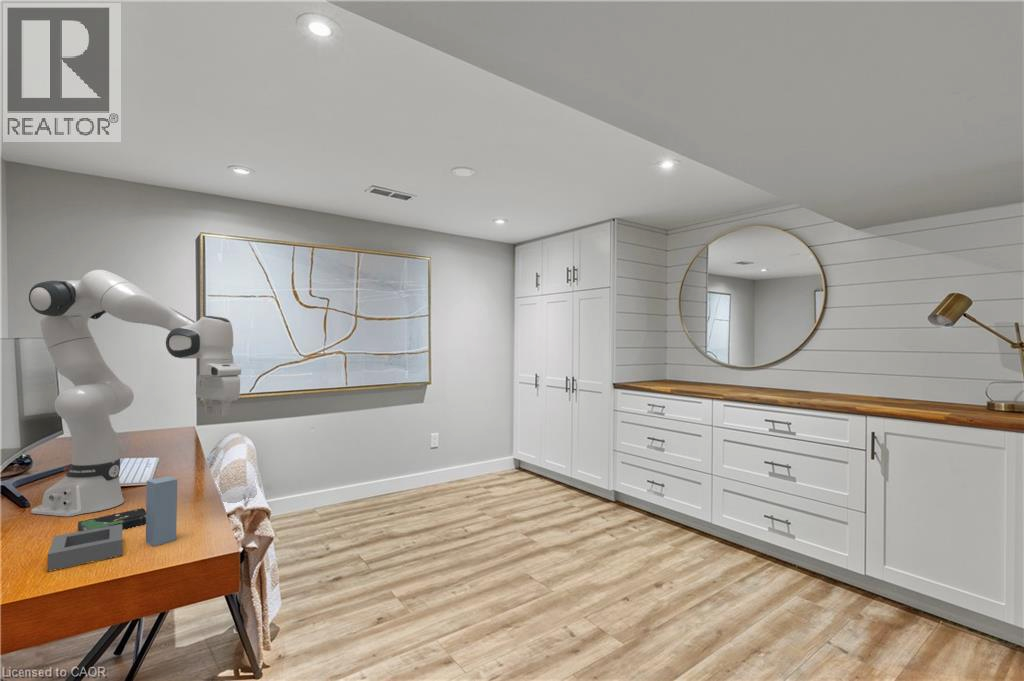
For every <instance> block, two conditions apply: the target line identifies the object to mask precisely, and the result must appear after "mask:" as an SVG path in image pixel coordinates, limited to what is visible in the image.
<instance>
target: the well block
mask: <svg viewBox="0 0 1024 681" xmlns="http://www.w3.org/2000/svg"><path fill="white" fill-rule="evenodd" d="M123 539H124V538H123V530H122V524H119V525H113V526H107V527H102V528H96V529H91V530H85V531H80V532H79V531H75V532H69V533H64V534H58V535H54V536H53V538H52V541H51V544H50V547H49V550H48V552H47V571H50V570H54V569H60V568H64V569H67V568H66V567H69V568H72V567H71V566H74V567H76V566H75V565H78V564H83V563H86V562H91V561H97V560H101V561H103V560H102V559H106V560H108V559H107V558H111V557H115V556H120V555H122V556H123ZM120 557H121V556H120ZM115 558H116V557H115ZM111 559H112V558H111ZM97 562H98V561H97ZM83 565H84V564H83ZM78 566H79V565H78ZM60 570H61V569H60ZM47 571H46V572H47ZM50 572H51V571H50Z"/></svg>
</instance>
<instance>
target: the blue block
mask: <svg viewBox="0 0 1024 681" xmlns="http://www.w3.org/2000/svg"><path fill="white" fill-rule="evenodd" d="M145 495H146V496H145V497H146V501H145V502H146V503H145V508H146V509H145V512H146V525H145V543H146V542H147V543H146V544H148V543H149V544H148V545H149V546H152V547H153V546H155V547H158V546H161V545H164V543H165V544H168V543H171V542H174V540H175V541H177V522H178V521H177V520H178V519H177V518H178V517H177V516H178V513H177V512H178V510H177V509H178V479H177V478H174V477H172V476H170V475H167V476H164V477H158V478H153V479H148V480H146V494H145ZM167 542H168V543H167ZM160 544H161V545H160ZM157 545H158V546H157Z"/></svg>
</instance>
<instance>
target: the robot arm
mask: <svg viewBox="0 0 1024 681" xmlns="http://www.w3.org/2000/svg"><path fill="white" fill-rule="evenodd" d="M28 302H29V305H30V306H31V308H32V309H33V310H34V311H35V312H36V313H38V314H40V315H43V316H42V318H41V319H40V329H41V334H42V338H43V341H44V343H45V346H46V348H47V350H48V353H49V355H50V357H51V360H52V362H53V363H54V366H55V368H56V370H57V372H58V373H59V374H60V375H61V376H63V377H65V378H66V379H67V380H69V381H70V382H71V383H72V384H73V385H74V386H73V387H70V388H68V389H65V390H64V391H62V392H61V393H59V395H57V397H56V398H55V400H54V409H55V413H56V414H57V416H59V417H60V418H62V419H63V420H64V421H65V423H66V425H67V428H68V429H69V433H70V436H71V442H72V443H71V446H72V447H71V448H72V455H71V456H72V457H71V461H72V462H71V464H69V465H67V466H62V468H63V469H62V471H63V472H64V471H66V474H65V476H64V477H63V478H61V479H60V480H58V481H57V482H56V483H55V484H53V485H51V486H50V487H49V488H47V489H46V490H45V491H44V494H43V496H42V500H41V504H40V505H37V506H35V507H33V508H31V510H30V514H35V515H36V514H37V515H45V516H46V515H48V516H58V517H65V518H67V517H68V518H69V517H74V516H79V515H82V514H89V513H95V512H100V511H105V510H108V509H112V508H115V507H118V506H120V505H121V504H123V503H124V502H125V499H124V496H123V493H122V488H121V480H120V471H121V458H120V457H119V453H120V452H119V450H120V446H119V444H120V435H119V433H118V432H117V431H116V430H114V428H113V426H112V422H111V419H110V416H112V415H116V414H118V413H121V412H122V411H124V410H126V409H128V408H129V407H130V406H131V405H132V403H133V402H134V395H135V394H134V392H133V390H132V388H131V387H130V386H129V385H127V384H125V383H123V382H122V381H121V380H120V379H119V378H118V376H117V375H116V374H115V373H114V371H113V370H112V369H111V368H110V366H109V365H108V364H107V363H106V361H105V360H104V358H103V356H102V354H101V352H100V350H99V348H98V345H97V343H96V342H95V339H94V337H93V335H92V332H91V331H90V329H89V327H88V325H89V324H88V322H89V321H90V319H93V320H98V319H99V318H101V316H103V315H105V314H106V313H107V314H109V315H111V316H112V317H113V318H116V319H119V320H121V321H125V322H128V323H134V324H142V325H150V326H154V327H155V326H156V327H159V328H162V329H166V330H168V331H169V333H168V334H167V336H166V338H165V347H166V349H167V351H168V353H169V354H170V355H171V356H172V357H174V358H178V359H199V361H198V362H199V366H198V367H199V374H198V375H197V378H196V381H195V382H196V384H195V395H196V398H198V399H202V402H203V405H204V408H205V409H204V410H205V414H214V411H215V410H214V409H215V408H214V406H213V401H221V409H219V410H220V411H219V414H220V416H222V417H225V416H229V414H230V407H231V404H232V402H233V401H234V402H235V401H238V400H239V397H240V394H241V378H240V376H241V374H242V368H241V367H239V366H238V365H237V364H236V363H235V362H234V355H233V348H234V330H233V325H232V322H231V321H230V320H229V319H228V318H225V317H220V316H213V315H204V316H201V317H200V318H199V320H196V321H194V320H192V319H190V317H188V316H186V315H184V314H183V313H180V312H178V311H177V310H175V309H173V308H171V307H170V306H168V305H166V304H165V303H164V302H162V301H160V300H158V299H157V298H155V297H154V296H152V295H151V294H149V292H146V291H144V290H143V289H141V288H140V287H139V286H137V285H136V284H135V283H132V282H131V281H130V280H127V279H126V278H125V277H122V276H120V275H118V274H116V273H113V272H111V271H108V270H105V269H93V270H90V271H88V272H87V273H86V274H84V275H83V276H82V278H81V279H70V280H47V281H41V282H39V283H36V284H35V285H33V286H32V287H31V289H30V290H29V294H28Z"/></svg>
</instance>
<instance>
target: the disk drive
mask: <svg viewBox="0 0 1024 681" xmlns="http://www.w3.org/2000/svg"><path fill="white" fill-rule="evenodd" d="M119 524H122V531H124V530H123V529H126V530H129V529H128V528H130V529H132V527H134V528H137V527H136V526H138V527H142V526H146V525H145V524H146V509H144V508H143V507H142V508H137V509H132V510H127V511H122V512H118V513H114V514H108V515H104V516H99V517H95V518H89V519H86V520H85V519H84V520H80V521H78V522H77V530H78V532H79V531H85V530H91V529H96V528H102V527H107V526H113V525H119ZM141 525H142V526H141Z"/></svg>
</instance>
